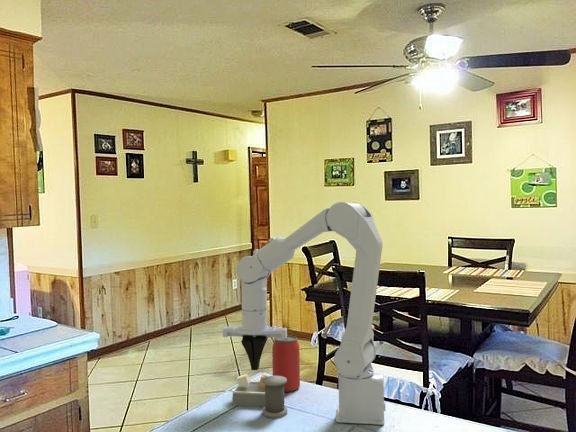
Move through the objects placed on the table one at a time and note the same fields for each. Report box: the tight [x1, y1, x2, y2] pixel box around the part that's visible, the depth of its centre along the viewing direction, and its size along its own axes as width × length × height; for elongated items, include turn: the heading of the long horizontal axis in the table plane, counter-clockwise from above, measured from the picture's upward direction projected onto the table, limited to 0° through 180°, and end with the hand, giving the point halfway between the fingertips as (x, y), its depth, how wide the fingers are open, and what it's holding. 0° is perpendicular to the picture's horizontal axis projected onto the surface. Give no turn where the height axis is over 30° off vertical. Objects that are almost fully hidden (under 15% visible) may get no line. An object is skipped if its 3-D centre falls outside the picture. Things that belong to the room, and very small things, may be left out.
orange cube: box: [259, 374, 268, 387], centre depth 111 cm, size 2×2×2 cm
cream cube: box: [236, 373, 251, 387], centre depth 112 cm, size 2×2×2 cm
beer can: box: [271, 334, 301, 393], centre depth 118 cm, size 7×7×12 cm
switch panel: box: [232, 380, 265, 408], centre depth 112 cm, size 8×8×3 cm
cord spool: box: [262, 375, 288, 419], centre depth 104 cm, size 5×5×7 cm
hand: (255, 368), depth 111 cm, fingers closed
